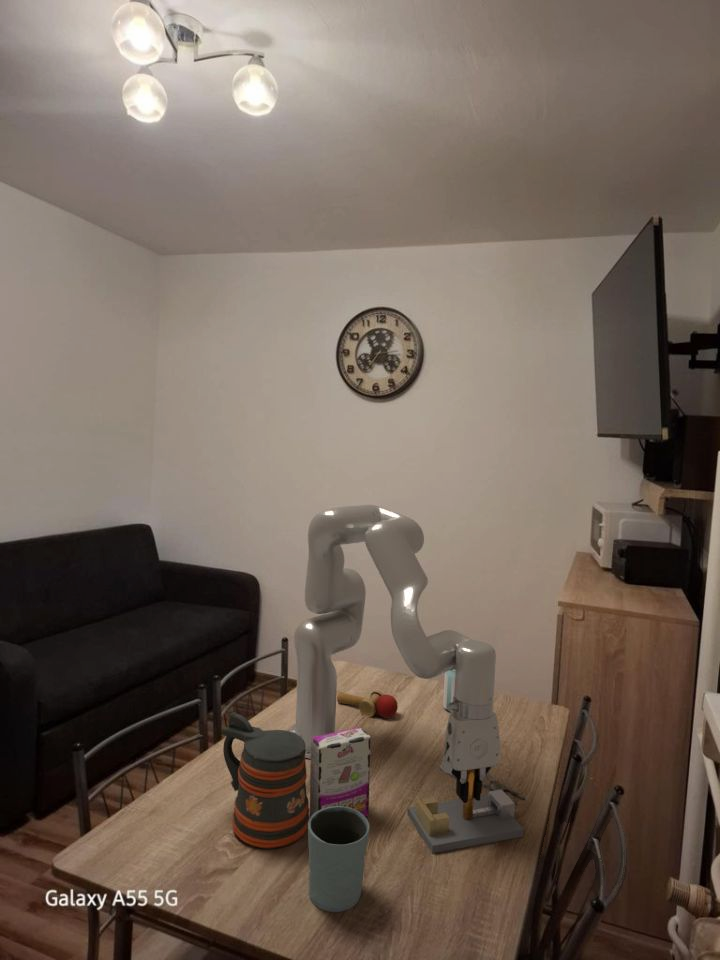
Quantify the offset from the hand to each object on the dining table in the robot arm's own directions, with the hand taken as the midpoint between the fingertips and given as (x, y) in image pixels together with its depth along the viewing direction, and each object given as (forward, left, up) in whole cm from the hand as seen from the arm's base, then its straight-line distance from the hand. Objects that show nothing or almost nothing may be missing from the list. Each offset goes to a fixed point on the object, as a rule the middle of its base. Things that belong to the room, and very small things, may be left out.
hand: (468, 797), depth 123 cm
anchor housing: (+7, 0, -4) cm, 8 cm away
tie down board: (-1, 0, -6) cm, 6 cm away
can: (+21, +48, -6) cm, 53 cm away
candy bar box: (-24, +9, -6) cm, 26 cm away
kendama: (-3, +53, -6) cm, 53 cm away
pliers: (+12, +14, -6) cm, 20 cm away
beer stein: (-39, +11, -6) cm, 41 cm away
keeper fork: (-8, 0, -4) cm, 9 cm away
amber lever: (+2, 0, -4) cm, 5 cm away
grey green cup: (-30, -11, -6) cm, 32 cm away
